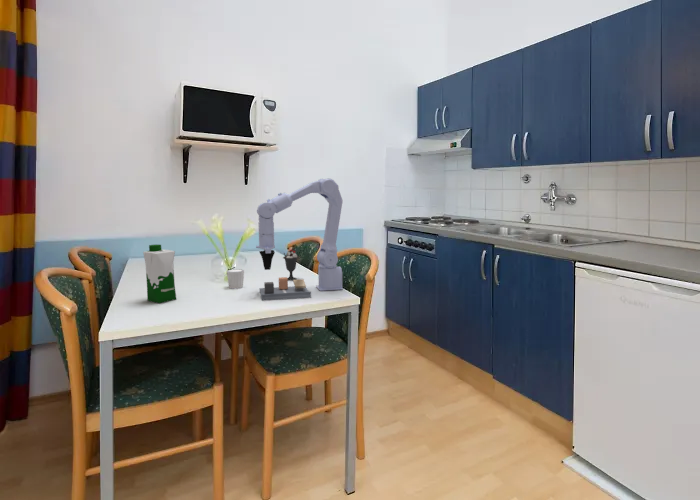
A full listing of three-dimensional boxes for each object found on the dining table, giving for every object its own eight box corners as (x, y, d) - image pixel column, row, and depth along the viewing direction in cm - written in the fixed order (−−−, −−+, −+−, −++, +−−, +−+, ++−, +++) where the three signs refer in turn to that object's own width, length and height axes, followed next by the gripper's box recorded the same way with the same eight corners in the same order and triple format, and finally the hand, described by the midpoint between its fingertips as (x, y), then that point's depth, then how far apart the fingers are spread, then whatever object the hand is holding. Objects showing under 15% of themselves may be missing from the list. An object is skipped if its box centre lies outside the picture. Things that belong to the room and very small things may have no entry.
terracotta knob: (286, 287, 171) (286, 277, 171) (287, 288, 168) (287, 278, 168) (278, 287, 171) (278, 277, 170) (279, 289, 167) (279, 279, 167)
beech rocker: (303, 281, 171) (303, 279, 171) (305, 287, 165) (305, 285, 165) (293, 281, 170) (293, 279, 170) (295, 288, 164) (295, 286, 164)
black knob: (273, 292, 163) (272, 281, 162) (273, 294, 160) (273, 283, 159) (264, 292, 162) (264, 282, 161) (265, 294, 159) (264, 284, 158)
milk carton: (165, 295, 163) (162, 243, 160) (180, 299, 158) (177, 245, 156) (143, 301, 156) (139, 246, 153) (159, 304, 151) (155, 247, 148)
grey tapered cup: (240, 289, 174) (239, 272, 173) (224, 288, 175) (223, 271, 174) (247, 285, 181) (246, 269, 180) (232, 285, 182) (231, 268, 181)
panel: (304, 288, 175) (304, 281, 175) (310, 297, 161) (310, 290, 160) (259, 291, 171) (259, 284, 170) (261, 300, 156) (261, 293, 156)
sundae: (301, 278, 195) (301, 245, 193) (292, 281, 189) (291, 247, 187) (290, 277, 198) (289, 244, 196) (280, 279, 193) (279, 246, 190)
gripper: (254, 232, 170) (255, 266, 172) (256, 236, 156) (257, 273, 158) (272, 232, 172) (273, 265, 174) (276, 236, 158) (277, 272, 160)
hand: (267, 269), depth 166 cm, fingers closed
